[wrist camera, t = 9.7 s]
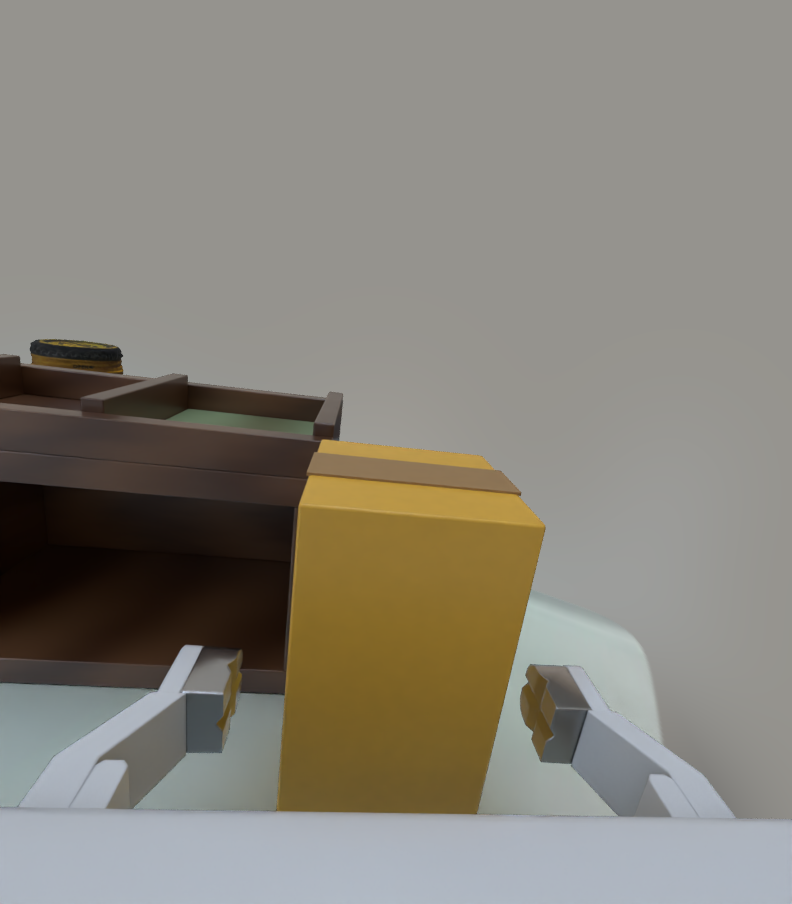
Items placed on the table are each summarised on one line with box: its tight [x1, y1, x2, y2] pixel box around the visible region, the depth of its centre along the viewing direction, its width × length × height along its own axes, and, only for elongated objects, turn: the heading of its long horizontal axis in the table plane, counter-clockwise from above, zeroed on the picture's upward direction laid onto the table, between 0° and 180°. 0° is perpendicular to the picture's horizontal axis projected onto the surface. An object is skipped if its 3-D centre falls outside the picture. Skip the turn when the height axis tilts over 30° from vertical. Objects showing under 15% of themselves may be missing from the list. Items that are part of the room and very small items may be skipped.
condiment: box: [30, 339, 123, 375], centre depth 32 cm, size 7×8×12 cm
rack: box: [0, 354, 343, 694], centre depth 21 cm, size 17×10×12 cm, turn 95°
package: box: [276, 440, 545, 814], centre depth 14 cm, size 6×6×12 cm
